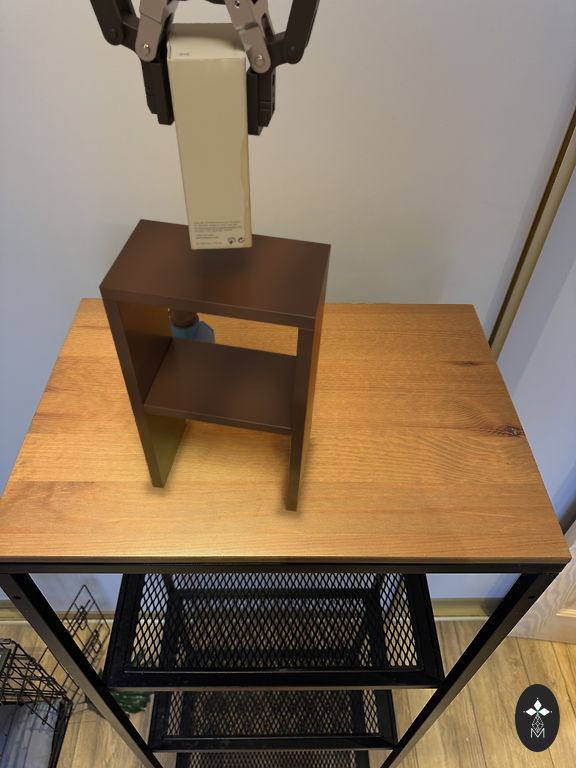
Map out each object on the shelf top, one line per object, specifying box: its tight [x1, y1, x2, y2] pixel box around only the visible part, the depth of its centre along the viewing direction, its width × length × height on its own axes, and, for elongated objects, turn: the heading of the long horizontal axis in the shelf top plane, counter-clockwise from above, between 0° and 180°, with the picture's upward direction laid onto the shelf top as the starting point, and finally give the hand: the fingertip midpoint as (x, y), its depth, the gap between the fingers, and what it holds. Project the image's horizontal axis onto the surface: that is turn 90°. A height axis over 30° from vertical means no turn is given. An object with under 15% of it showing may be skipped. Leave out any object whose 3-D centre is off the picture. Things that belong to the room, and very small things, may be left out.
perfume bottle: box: [168, 308, 216, 343], centre depth 68 cm, size 6×6×12 cm
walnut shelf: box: [98, 218, 332, 513], centre depth 54 cm, size 16×9×28 cm, turn 80°
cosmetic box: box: [167, 22, 253, 250], centre depth 37 cm, size 6×4×12 cm
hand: (213, 123), depth 36 cm, fingers closed on cosmetic box, 5 cm apart
